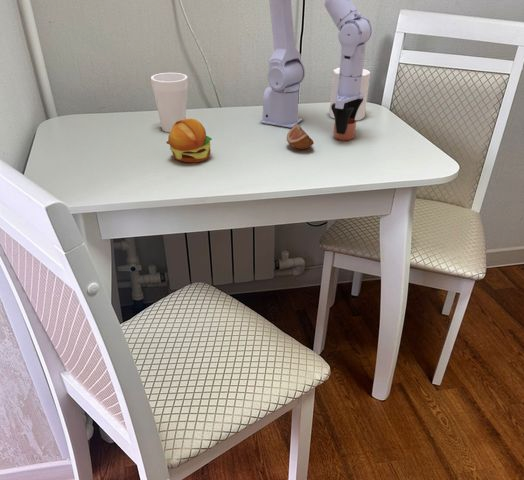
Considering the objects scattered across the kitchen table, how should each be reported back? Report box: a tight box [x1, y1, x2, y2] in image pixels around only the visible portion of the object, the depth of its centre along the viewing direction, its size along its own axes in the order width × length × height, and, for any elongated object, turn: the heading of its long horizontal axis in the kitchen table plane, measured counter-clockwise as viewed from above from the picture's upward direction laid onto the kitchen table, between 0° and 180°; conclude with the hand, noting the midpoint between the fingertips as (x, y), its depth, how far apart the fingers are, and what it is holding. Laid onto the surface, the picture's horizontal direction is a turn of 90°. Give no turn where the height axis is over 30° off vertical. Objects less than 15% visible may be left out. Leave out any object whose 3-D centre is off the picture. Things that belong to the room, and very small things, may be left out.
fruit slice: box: [286, 123, 315, 150], centre depth 138 cm, size 8×7×5 cm
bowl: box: [333, 118, 357, 141], centre depth 145 cm, size 6×6×4 cm
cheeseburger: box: [165, 118, 213, 163], centre depth 131 cm, size 10×11×10 cm
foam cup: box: [150, 72, 189, 133], centre depth 146 cm, size 10×9×13 cm
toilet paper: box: [329, 67, 371, 121], centre depth 157 cm, size 10×10×12 cm
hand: (344, 129), depth 145 cm, fingers closed on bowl, 5 cm apart
